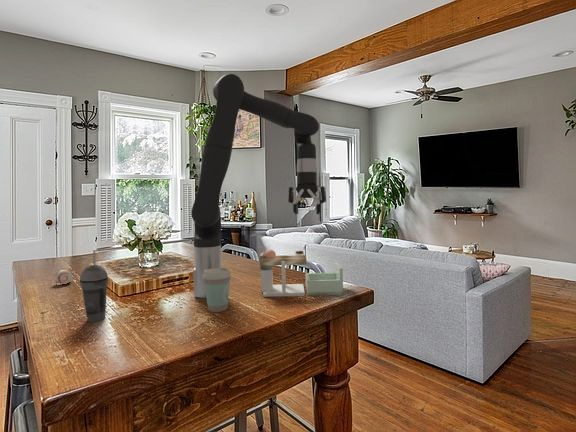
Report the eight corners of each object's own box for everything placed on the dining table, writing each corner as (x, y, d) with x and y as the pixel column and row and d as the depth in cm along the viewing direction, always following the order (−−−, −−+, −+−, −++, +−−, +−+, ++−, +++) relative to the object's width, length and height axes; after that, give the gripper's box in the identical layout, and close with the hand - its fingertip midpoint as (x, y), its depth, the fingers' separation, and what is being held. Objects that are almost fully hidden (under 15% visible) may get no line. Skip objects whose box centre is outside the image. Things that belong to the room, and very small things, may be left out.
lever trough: (260, 270, 125) (259, 255, 125) (262, 262, 138) (262, 249, 138) (306, 269, 125) (306, 254, 125) (304, 261, 138) (304, 248, 138)
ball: (264, 262, 126) (263, 250, 126) (264, 260, 130) (264, 249, 130) (275, 261, 126) (275, 250, 126) (276, 259, 130) (275, 248, 130)
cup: (307, 295, 123) (307, 269, 122) (305, 286, 135) (305, 262, 134) (343, 294, 123) (342, 268, 122) (338, 285, 135) (337, 261, 134)
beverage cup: (103, 313, 109) (100, 247, 108) (115, 318, 105) (111, 249, 103) (77, 320, 104) (73, 250, 102) (88, 325, 99) (84, 252, 98)
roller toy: (53, 284, 147) (52, 270, 147) (71, 282, 152) (70, 268, 151) (55, 286, 144) (55, 272, 144) (74, 283, 148) (73, 269, 148)
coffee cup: (226, 314, 106) (224, 273, 105) (198, 312, 107) (197, 272, 107) (236, 305, 114) (234, 267, 113) (210, 304, 116) (209, 266, 115)
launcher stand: (260, 296, 123) (259, 263, 122) (262, 287, 135) (261, 256, 134) (304, 295, 123) (303, 262, 122) (303, 286, 135) (302, 255, 134)
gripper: (285, 171, 136) (286, 214, 137) (322, 170, 131) (323, 214, 132) (292, 172, 143) (292, 213, 144) (327, 171, 138) (327, 213, 139)
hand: (307, 214), depth 138 cm, fingers open, 8 cm apart
